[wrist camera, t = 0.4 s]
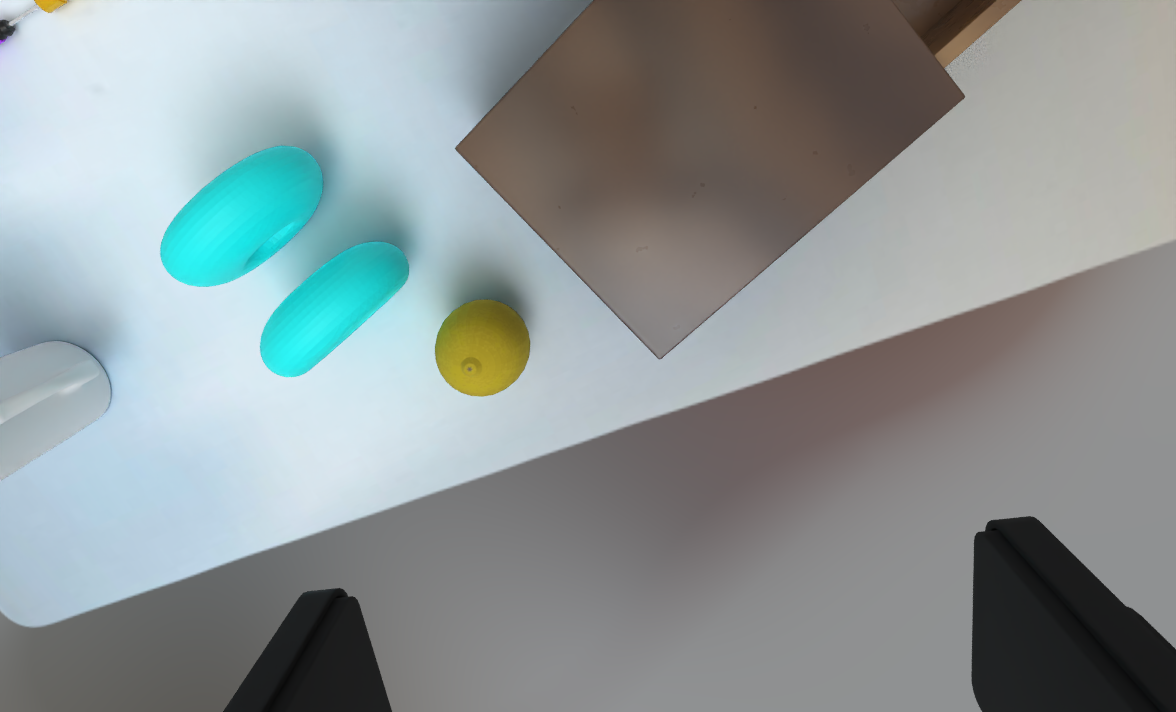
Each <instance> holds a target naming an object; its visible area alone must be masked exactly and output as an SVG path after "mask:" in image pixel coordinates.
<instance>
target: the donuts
mask: <svg viewBox="0 0 1176 712" xmlns="http://www.w3.org/2000/svg"><path fill="white" fill-rule="evenodd" d="M322 190H323V177H322V172H321V169H320V166H319V165H318V163H317V161H316V160H315V159H314V158H313V157H312V156H311V155H310V154H309V153H307V152H306V151H304V150H302V149H300V148H297V147H294V146H276V147H272V148H268V149H265V150H262V151H260V152H257V153H255V154H253V155H251V156H249V157H247V158H245V159H243V160H242V161H240V162H238V163H237V164H235V165H233V166H232V167H230V168H229V169H227V170H226V171H224V172H223V173H222V174H220V175H219V176H218V177H216V178H215V179H214V180H212V181H211V182H210V183H209V184H208V185H206V186H205V187H204V188H203V189H202V190H200V191H199V192H198V193H197V194H196V195H195V196H194V197H193V198H192V199H191V200H190V201H189V202H188V203H187V204H186V205H185V206H184V207H183V208H182V209H181V211H180V212H179V213H178V214H177V215H176V217H175V218H174V219H173V221H172V222H171V224H170V225H169V227H168V228H167V230H166V232H165V234H164V237H163V239H162V242H161V248H160V255H161V260H162V263H163V265H164V267H165V269H166V270H167V272H168V273H169V274H170V275H171V276H172V277H174V278H175V279H177V280H178V281H180V282H182V283H185V284H187V285H192V286H198V287H209V286H215V285H220V284H224V283H227V282H230V281H233V280H235V279H237V278H239V277H241V276H243V275H245V274H247V273H248V272H250V271H252V270H253V269H255V268H256V267H258V266H259V265H261V264H262V263H263V262H265V261H266V260H267V259H269V258H270V257H271V256H273V255H274V254H275V253H276V252H277V251H279V250H280V249H281V248H282V247H283V246H284V245H286V244H287V243H288V242H289V241H290V240H291V239H292V238H293V237H294V236H295V235H296V234H297V233H298V232H299V231H300V230H301V229H302V227H303V226H304V225H305V224H306V223H307V222H308V220H309V219H310V218H311V216H312V215H313V213H314V211H315V210H316V208H317V206H318V204H319V201H320V198H321V195H322ZM408 275H409V264H408V260H407V258H406V256H405V254H404V253H403V252H402V251H401V250H400V249H399V248H397V247H396V246H394V245H392V244H390V243H386V242H367V243H362V244H358V245H356V246H353V247H351V248H349V249H347V250H345V251H343V252H342V253H340V254H338V255H337V256H336V257H334V258H333V259H331V260H330V261H328V262H327V263H326V264H325V265H323V266H322V267H321V268H319V269H318V270H317V271H316V272H315V273H313V274H312V275H311V276H310V277H309V278H307V279H306V280H305V281H304V282H303V283H302V284H301V285H300V286H299V287H297V288H296V289H295V290H294V291H293V292H292V293H291V294H290V295H289V296H288V297H287V298H286V299H285V300H284V301H283V302H282V303H281V304H280V305H279V307H278V308H277V309H276V310H275V311H274V313H273V314H272V315H271V317H270V318H269V320H268V322H267V323H266V325H265V327H264V330H263V333H262V336H261V342H260V351H261V357H262V359H263V362H264V363H265V365H266V366H267V367H268V368H269V369H270V370H271V371H272V372H274V373H275V374H277V375H280V376H284V377H296V376H300V375H302V374H304V373H306V372H308V371H309V370H310V369H311V368H313V367H314V366H315V365H316V364H317V363H319V362H320V361H321V360H322V359H323V358H325V357H326V356H327V355H328V354H329V353H330V352H332V351H333V350H334V349H335V348H336V347H337V346H338V345H340V344H341V343H342V342H343V341H344V340H345V339H346V338H347V337H349V336H350V335H351V334H352V333H353V332H354V331H355V330H356V329H358V328H359V327H360V326H361V325H362V324H363V323H364V322H365V321H366V320H367V319H368V318H370V317H371V316H372V315H373V314H374V313H375V312H376V311H377V310H378V309H379V308H380V307H382V306H383V305H384V304H385V303H386V302H387V301H388V300H389V299H390V298H391V297H392V296H393V295H394V294H395V293H396V292H397V291H398V290H399V289H400V288H401V287H402V286H403V285H404V284H405V282H406V280H407V278H408Z"/></svg>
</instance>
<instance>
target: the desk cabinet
mask: <svg viewBox="0 0 1176 712" xmlns="http://www.w3.org/2000/svg"><path fill="white" fill-rule="evenodd" d="M964 98H965V95H964V94H963V93H962V91H961V90H960V89H959V87H958V86H957V85H956V83H955V82H954V81H953V79H952V78H951V77H950V76H949V74H948V73H947V72H946V70H945V69H944V68H943V66H942V65H941V64H940V62H939V61H938V60H937V58H936V57H935V56H934V55H933V53H932V52H931V51H930V49H929V48H928V47H927V45H926V44H925V43H924V41H923V40H922V39H921V37H920V36H919V35H918V33H917V32H916V31H915V30H914V28H913V27H912V26H911V24H910V23H909V22H908V20H907V19H906V18H905V16H904V15H903V14H902V12H901V11H900V10H899V9H898V7H897V6H896V5H895V3H894V2H893V1H892V0H593V1H592V2H591V3H590V4H589V5H588V7H587V8H586V9H585V10H584V11H583V12H582V13H581V14H580V15H579V16H578V17H577V18H576V19H575V20H574V21H573V23H572V24H571V25H570V26H569V27H568V28H567V29H566V30H565V31H564V32H563V33H562V34H561V35H560V36H559V37H558V39H557V40H556V41H555V42H554V43H553V44H552V45H551V46H550V47H549V48H548V49H547V50H546V51H545V52H544V53H543V55H542V56H541V57H540V58H539V59H538V60H537V61H536V62H535V63H534V64H533V65H532V66H531V67H530V68H529V69H528V71H527V72H526V73H525V74H524V75H523V76H522V77H521V78H520V79H519V80H518V81H517V82H516V83H515V84H514V85H513V87H512V88H511V89H510V90H509V91H508V92H507V93H506V94H505V95H504V96H503V97H502V98H501V99H500V100H499V101H498V103H497V104H496V105H495V106H494V107H493V108H492V109H491V110H490V111H489V112H488V113H487V114H486V115H485V116H484V118H483V119H482V120H481V121H480V122H479V123H478V124H477V125H476V126H475V127H474V128H473V129H472V130H471V131H470V132H469V134H468V135H467V136H466V137H465V138H464V139H463V140H462V141H461V142H460V143H459V144H458V145H457V146H456V148H455V149H456V151H457V152H458V153H459V154H460V155H461V156H462V157H463V158H464V159H465V160H466V161H467V162H468V163H469V164H470V165H471V166H472V167H473V168H474V169H475V170H476V171H477V172H478V173H479V174H480V175H481V176H482V177H483V178H484V180H485V181H486V182H487V183H488V184H489V185H490V186H491V187H492V188H493V189H494V190H495V191H496V192H497V193H498V194H499V195H500V196H501V197H502V198H503V199H504V200H505V201H506V202H507V203H508V204H509V205H510V206H511V207H512V208H513V209H514V210H515V211H516V213H517V214H518V215H519V216H520V217H521V218H522V219H523V220H524V221H525V222H526V223H527V224H528V225H529V226H530V227H531V228H532V229H533V230H534V231H535V232H536V233H537V234H538V235H539V236H540V237H541V238H542V239H543V240H544V241H545V242H546V243H547V244H548V246H549V247H550V248H551V249H552V250H553V251H554V252H555V253H556V254H557V255H558V256H559V257H560V258H561V259H562V260H563V261H564V262H565V263H566V264H567V265H568V266H569V267H570V268H571V269H572V270H573V271H574V272H575V273H576V274H577V275H578V276H579V277H580V279H581V280H582V281H583V282H584V283H585V284H586V285H587V286H588V287H589V288H590V289H591V290H592V291H593V292H594V293H595V294H596V295H597V296H598V297H599V298H600V299H601V300H602V301H603V302H604V303H605V304H606V305H607V306H608V307H609V308H610V309H611V310H612V312H613V313H614V314H615V315H616V316H617V317H618V318H619V319H620V320H621V321H622V322H623V323H624V324H625V325H626V326H627V327H628V328H629V329H630V330H631V331H632V332H633V333H634V334H635V335H636V336H637V337H638V338H639V339H640V340H641V341H642V342H643V343H644V345H645V346H646V347H647V348H648V349H649V350H650V351H651V352H652V353H653V354H654V355H655V356H656V357H657V358H658V359H662V358H663V357H664V356H665V355H666V354H667V353H669V352H670V351H671V350H672V349H673V348H674V347H676V346H677V345H678V344H679V343H680V342H681V341H683V340H684V339H685V338H686V337H687V336H688V335H689V334H691V333H692V332H693V331H694V330H695V329H696V328H698V327H699V326H700V325H701V324H702V323H703V322H705V321H706V320H707V319H708V318H709V317H710V316H712V315H713V314H714V313H715V312H716V311H717V310H719V309H720V308H721V307H722V306H723V305H724V304H726V303H727V302H728V301H729V300H730V299H731V298H733V297H734V296H735V295H736V294H737V293H738V292H739V291H741V290H742V289H743V288H744V287H745V286H746V285H748V284H749V283H750V282H751V281H752V280H753V279H755V278H756V277H757V276H758V275H759V274H760V273H762V272H763V271H764V270H765V269H766V268H767V267H769V266H770V265H771V264H772V263H773V262H774V261H776V260H777V259H778V258H779V257H780V256H781V255H783V254H784V253H785V252H786V251H787V250H788V249H789V248H791V247H792V246H793V245H794V244H795V243H796V242H798V241H799V240H800V239H801V238H802V237H803V236H805V235H806V234H807V233H808V232H809V231H810V230H812V229H813V228H814V227H815V226H816V225H817V224H819V223H820V222H821V221H822V220H823V219H824V218H826V217H827V216H828V215H829V214H830V213H831V212H833V211H834V210H835V209H836V208H837V207H838V206H839V205H841V204H842V203H843V202H844V201H845V200H846V199H848V198H849V197H850V196H851V195H852V194H853V193H855V192H856V191H857V190H858V189H859V188H860V187H862V186H863V185H864V184H865V183H866V182H867V181H869V180H870V179H871V178H872V177H873V176H874V175H876V174H877V173H878V172H879V171H880V170H881V169H883V168H884V167H885V166H886V165H887V164H888V163H889V162H891V161H892V160H893V159H894V158H895V157H896V156H898V155H899V154H900V153H901V152H902V151H903V150H905V149H906V148H907V147H908V146H909V145H910V144H912V143H913V142H914V141H915V140H916V139H917V138H919V137H920V136H921V135H922V134H923V133H924V132H926V131H927V130H928V129H929V128H930V127H931V126H933V125H934V124H935V123H936V122H937V121H938V120H939V119H941V118H942V117H943V116H944V115H945V114H946V113H948V112H949V111H950V110H951V109H952V108H953V107H955V106H956V105H957V104H958V103H959V102H960V101H962V100H963V99H964Z"/></svg>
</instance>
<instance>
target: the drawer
mask: <svg viewBox="0 0 1176 712" xmlns="http://www.w3.org/2000/svg"><path fill="white" fill-rule="evenodd" d="M892 1H893V2H894V3H895V5H896V6H897V7H898V9H899V10H900V11H901V12H902V14H903V15H904V16H905V18H906V19H907V20H908V22H909V23H910V24H911V26H912V27H913V28H914V30H915V31H916V32H917V33H918V35H919V36H920V37H921V39H922V40H923V41H924V43H925V44H926V45H927V47H928V48H929V49H930V51H931V52H932V53H933V55H934V56H935V57H936V58H937V60H938V61H939V62H940V64H941V65H942V66H943V68H945V67H946V66H947V65H949V64H950V63H951V62H952V61H953V60H954V59H955V58H956V57H958V56H959V55H960V54H961V53H962V52H963V51H964V50H966V49H967V48H968V47H969V46H970V45H971V44H972V43H974V42H975V41H976V40H977V39H978V38H979V37H980V36H981V35H983V34H984V33H985V32H986V31H987V30H988V29H989V28H991V27H992V26H993V25H994V24H995V23H996V22H997V21H999V20H1000V19H1001V18H1002V17H1003V16H1004V15H1005V14H1006V13H1008V12H1009V11H1010V10H1011V9H1012V8H1013V7H1014V6H1016V5H1017V4H1018V3H1019V2H1020V1H1021V0H892Z"/></svg>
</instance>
